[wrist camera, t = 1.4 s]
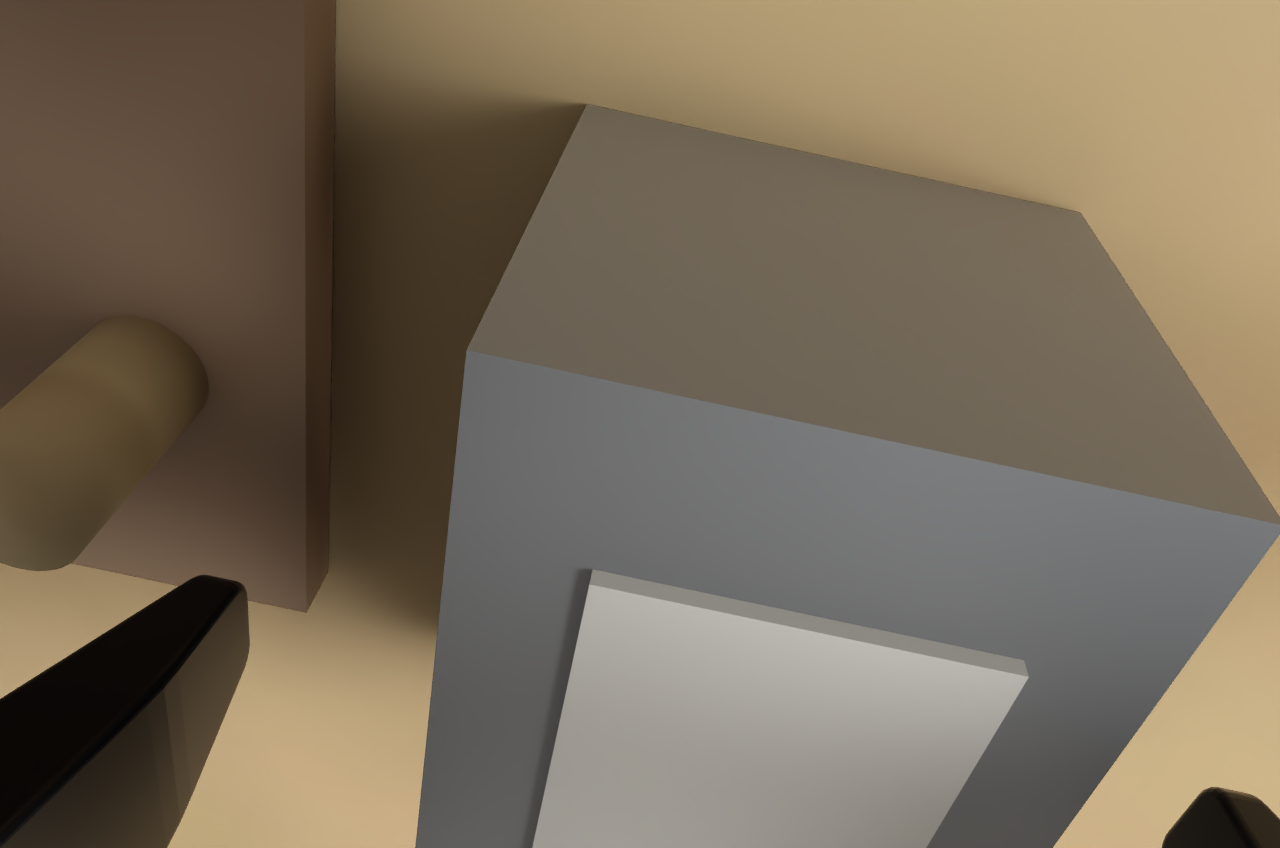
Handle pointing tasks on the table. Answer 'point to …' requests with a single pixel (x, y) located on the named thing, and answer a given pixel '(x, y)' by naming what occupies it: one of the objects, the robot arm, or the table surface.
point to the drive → (811, 513)
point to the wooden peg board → (168, 289)
